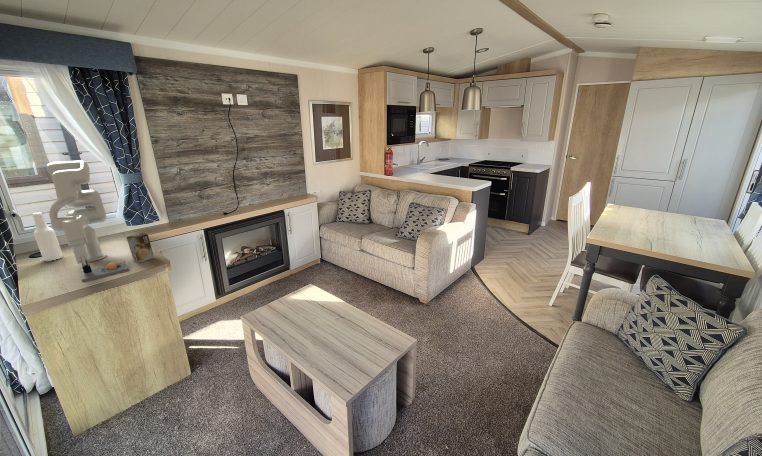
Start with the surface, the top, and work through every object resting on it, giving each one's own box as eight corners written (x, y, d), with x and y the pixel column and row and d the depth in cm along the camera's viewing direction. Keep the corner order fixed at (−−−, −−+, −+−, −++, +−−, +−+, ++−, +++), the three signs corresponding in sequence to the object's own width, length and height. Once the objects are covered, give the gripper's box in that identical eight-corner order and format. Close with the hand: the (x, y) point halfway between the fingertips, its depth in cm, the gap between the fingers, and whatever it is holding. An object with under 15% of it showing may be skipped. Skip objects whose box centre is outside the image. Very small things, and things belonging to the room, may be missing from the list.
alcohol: (67, 256, 202) (51, 211, 192) (51, 262, 193) (34, 215, 184) (55, 255, 203) (39, 210, 193) (39, 261, 195) (21, 214, 185)
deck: (82, 282, 167) (81, 279, 167) (81, 273, 177) (80, 271, 177) (129, 270, 180) (128, 268, 180) (126, 263, 190) (125, 260, 190)
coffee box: (149, 256, 201) (143, 232, 195) (154, 258, 197) (148, 233, 192) (133, 261, 193) (126, 236, 188) (137, 263, 190) (130, 238, 185)
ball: (119, 265, 182) (113, 272, 179) (118, 265, 185) (112, 271, 182) (111, 261, 179) (105, 267, 177) (110, 260, 182) (104, 267, 180)
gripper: (68, 240, 171) (78, 270, 176) (68, 247, 160) (79, 279, 166) (86, 236, 175) (96, 266, 181) (87, 243, 165) (98, 274, 171)
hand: (88, 272), depth 174 cm, fingers closed
